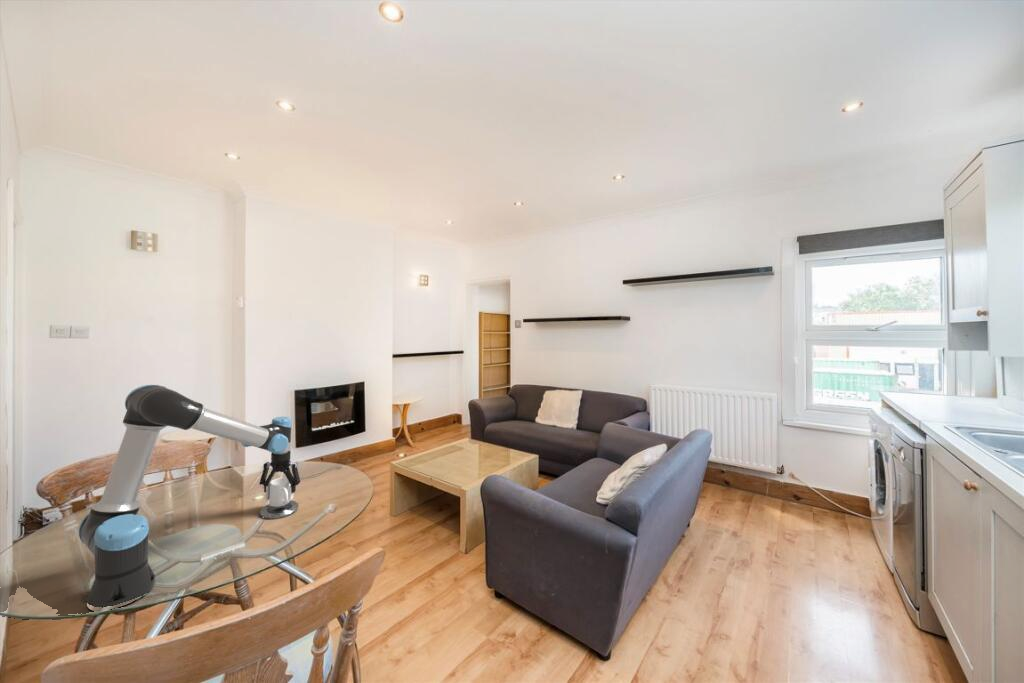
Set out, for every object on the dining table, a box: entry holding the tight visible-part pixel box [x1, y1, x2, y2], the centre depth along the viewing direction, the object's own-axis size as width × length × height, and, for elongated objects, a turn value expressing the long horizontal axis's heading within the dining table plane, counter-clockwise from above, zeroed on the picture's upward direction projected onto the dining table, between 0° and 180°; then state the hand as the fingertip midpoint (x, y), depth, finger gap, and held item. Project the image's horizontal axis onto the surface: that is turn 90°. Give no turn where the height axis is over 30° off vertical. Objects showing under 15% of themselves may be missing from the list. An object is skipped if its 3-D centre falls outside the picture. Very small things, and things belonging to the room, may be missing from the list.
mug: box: [268, 477, 291, 507], centre depth 173 cm, size 12×8×10 cm
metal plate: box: [259, 500, 299, 520], centre depth 173 cm, size 15×15×1 cm
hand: (279, 499), depth 173 cm, fingers closed on mug, 9 cm apart
